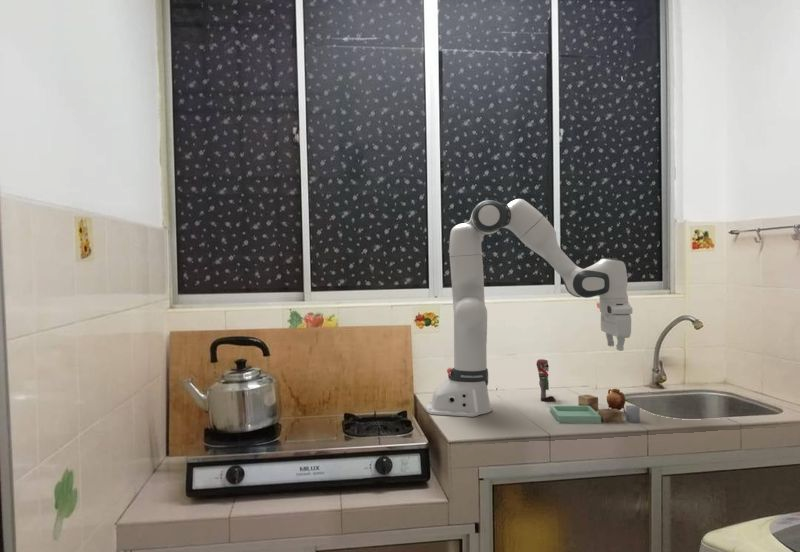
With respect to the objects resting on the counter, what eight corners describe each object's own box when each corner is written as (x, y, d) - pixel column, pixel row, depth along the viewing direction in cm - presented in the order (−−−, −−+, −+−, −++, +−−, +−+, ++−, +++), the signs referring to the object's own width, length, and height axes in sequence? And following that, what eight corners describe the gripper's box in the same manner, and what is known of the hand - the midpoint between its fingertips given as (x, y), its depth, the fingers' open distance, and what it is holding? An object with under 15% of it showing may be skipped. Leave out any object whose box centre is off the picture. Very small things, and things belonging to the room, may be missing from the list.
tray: (558, 422, 170) (558, 416, 170) (550, 411, 183) (550, 405, 183) (601, 423, 169) (601, 416, 169) (589, 411, 182) (589, 405, 182)
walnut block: (604, 423, 169) (603, 412, 169) (598, 420, 173) (598, 409, 173) (622, 423, 169) (622, 412, 169) (616, 419, 173) (616, 408, 173)
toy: (556, 406, 189) (556, 363, 188) (537, 406, 190) (537, 363, 190) (552, 394, 206) (552, 355, 206) (535, 394, 207) (535, 355, 207)
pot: (625, 417, 177) (625, 410, 183) (625, 393, 176) (625, 387, 182) (606, 415, 179) (607, 408, 185) (606, 392, 178) (606, 386, 184)
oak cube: (587, 411, 182) (587, 398, 182) (578, 408, 186) (578, 395, 186) (598, 410, 184) (598, 397, 184) (589, 407, 188) (589, 394, 188)
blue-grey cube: (628, 423, 169) (628, 408, 168) (624, 419, 173) (624, 405, 172) (641, 423, 168) (641, 408, 168) (637, 419, 172) (637, 405, 172)
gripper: (595, 304, 191) (596, 344, 191) (613, 309, 170) (615, 353, 170) (613, 304, 190) (615, 343, 190) (634, 308, 170) (636, 352, 170)
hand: (615, 348), depth 180 cm, fingers open, 8 cm apart
